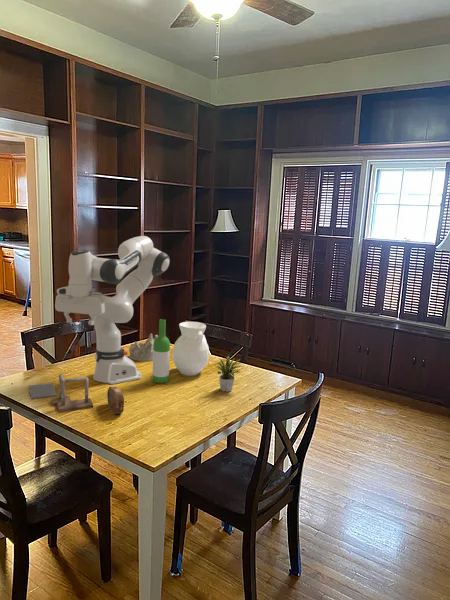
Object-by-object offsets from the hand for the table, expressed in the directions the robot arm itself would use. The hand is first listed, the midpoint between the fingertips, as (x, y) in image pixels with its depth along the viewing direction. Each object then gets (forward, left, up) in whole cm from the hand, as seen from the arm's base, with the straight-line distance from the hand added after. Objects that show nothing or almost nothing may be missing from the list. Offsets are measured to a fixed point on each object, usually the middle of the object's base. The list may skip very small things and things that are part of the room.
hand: (80, 323), depth 184 cm
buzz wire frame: (+4, +5, -32) cm, 33 cm away
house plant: (-62, +12, -33) cm, 71 cm away
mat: (+14, -13, -32) cm, 37 cm away
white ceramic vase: (-56, -16, -33) cm, 67 cm away
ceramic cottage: (-42, -46, -33) cm, 71 cm away
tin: (-11, +15, -33) cm, 38 cm away
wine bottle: (-38, -9, -33) cm, 51 cm away
